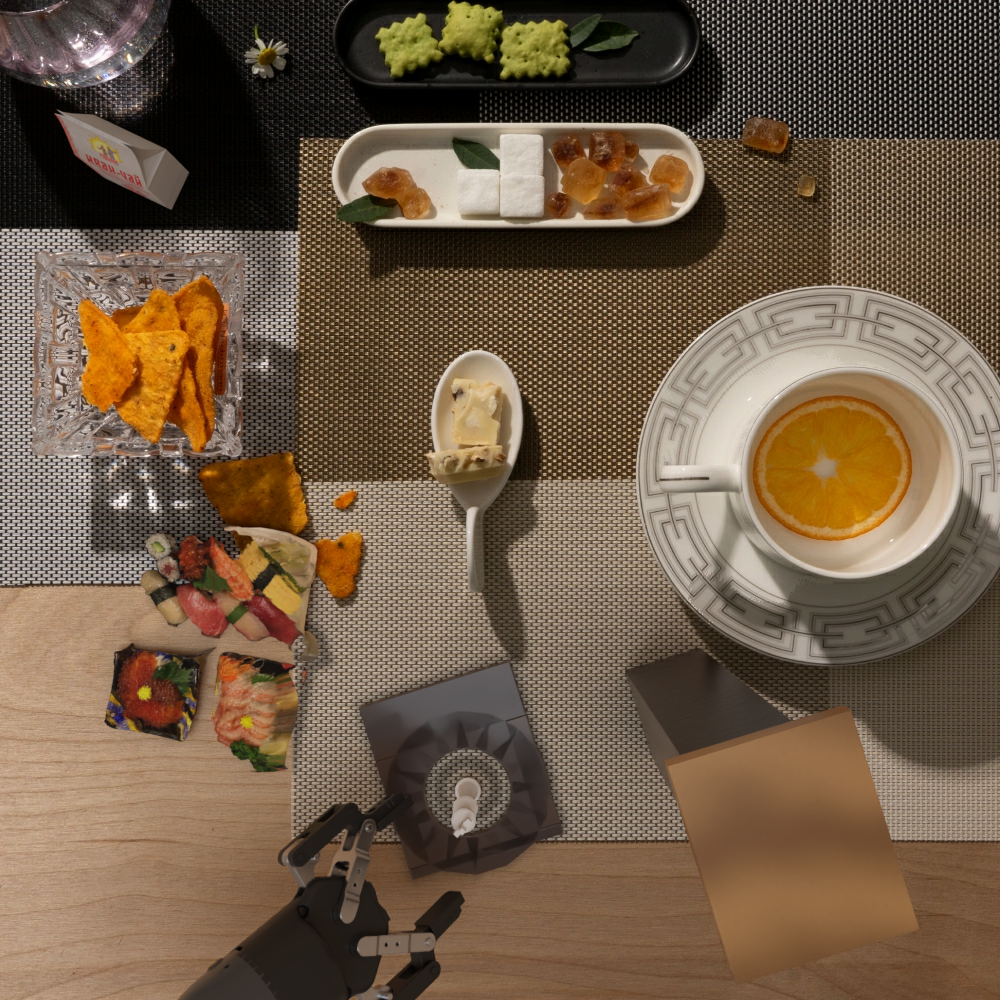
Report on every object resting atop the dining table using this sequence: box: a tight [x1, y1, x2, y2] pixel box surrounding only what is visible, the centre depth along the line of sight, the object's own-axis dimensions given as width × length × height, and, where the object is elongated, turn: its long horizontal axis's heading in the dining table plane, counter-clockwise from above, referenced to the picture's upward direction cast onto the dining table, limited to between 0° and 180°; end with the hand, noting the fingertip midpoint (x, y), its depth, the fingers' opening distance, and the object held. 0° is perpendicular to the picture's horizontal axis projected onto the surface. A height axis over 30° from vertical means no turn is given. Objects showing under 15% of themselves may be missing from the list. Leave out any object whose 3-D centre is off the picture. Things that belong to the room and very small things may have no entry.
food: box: [103, 524, 320, 773], centre depth 69 cm, size 22×19×4 cm
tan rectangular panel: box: [664, 704, 920, 986], centre depth 41 cm, size 12×10×1 cm
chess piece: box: [450, 776, 482, 838], centre depth 66 cm, size 5×5×10 cm
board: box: [358, 659, 564, 881], centre depth 70 cm, size 17×14×2 cm
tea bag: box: [53, 109, 190, 210], centre depth 66 cm, size 4×7×10 cm, turn 64°
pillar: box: [624, 647, 792, 803], centre depth 56 cm, size 8×7×29 cm
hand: (431, 846), depth 61 cm, fingers open, 8 cm apart
